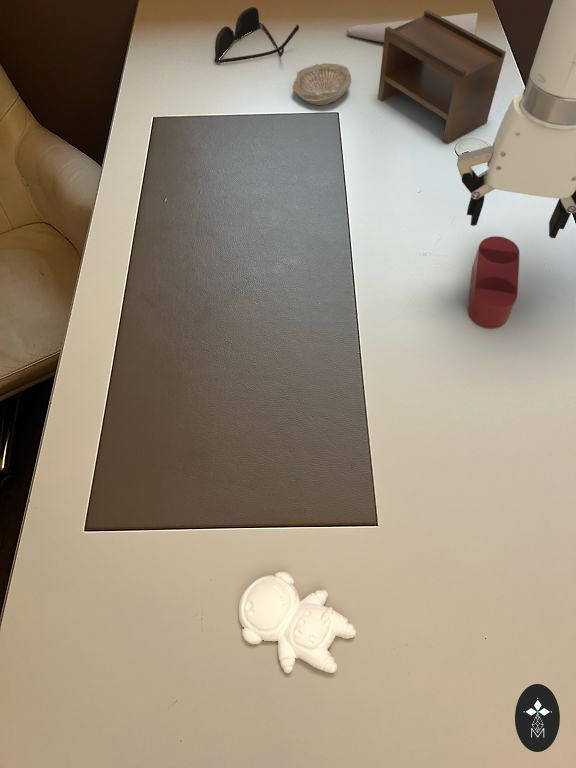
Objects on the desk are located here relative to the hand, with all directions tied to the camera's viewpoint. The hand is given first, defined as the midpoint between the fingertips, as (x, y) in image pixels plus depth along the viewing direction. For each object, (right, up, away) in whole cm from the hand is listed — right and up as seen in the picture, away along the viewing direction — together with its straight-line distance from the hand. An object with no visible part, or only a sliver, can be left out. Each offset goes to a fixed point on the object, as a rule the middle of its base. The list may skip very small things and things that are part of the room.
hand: (512, 224), depth 79 cm
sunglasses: (-34, +47, +48) cm, 75 cm away
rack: (-2, +30, +35) cm, 46 cm away
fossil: (-22, +35, +39) cm, 57 cm away
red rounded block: (0, -7, +10) cm, 13 cm away
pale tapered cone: (-4, +47, +47) cm, 67 cm away
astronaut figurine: (-28, -45, -14) cm, 55 cm away
